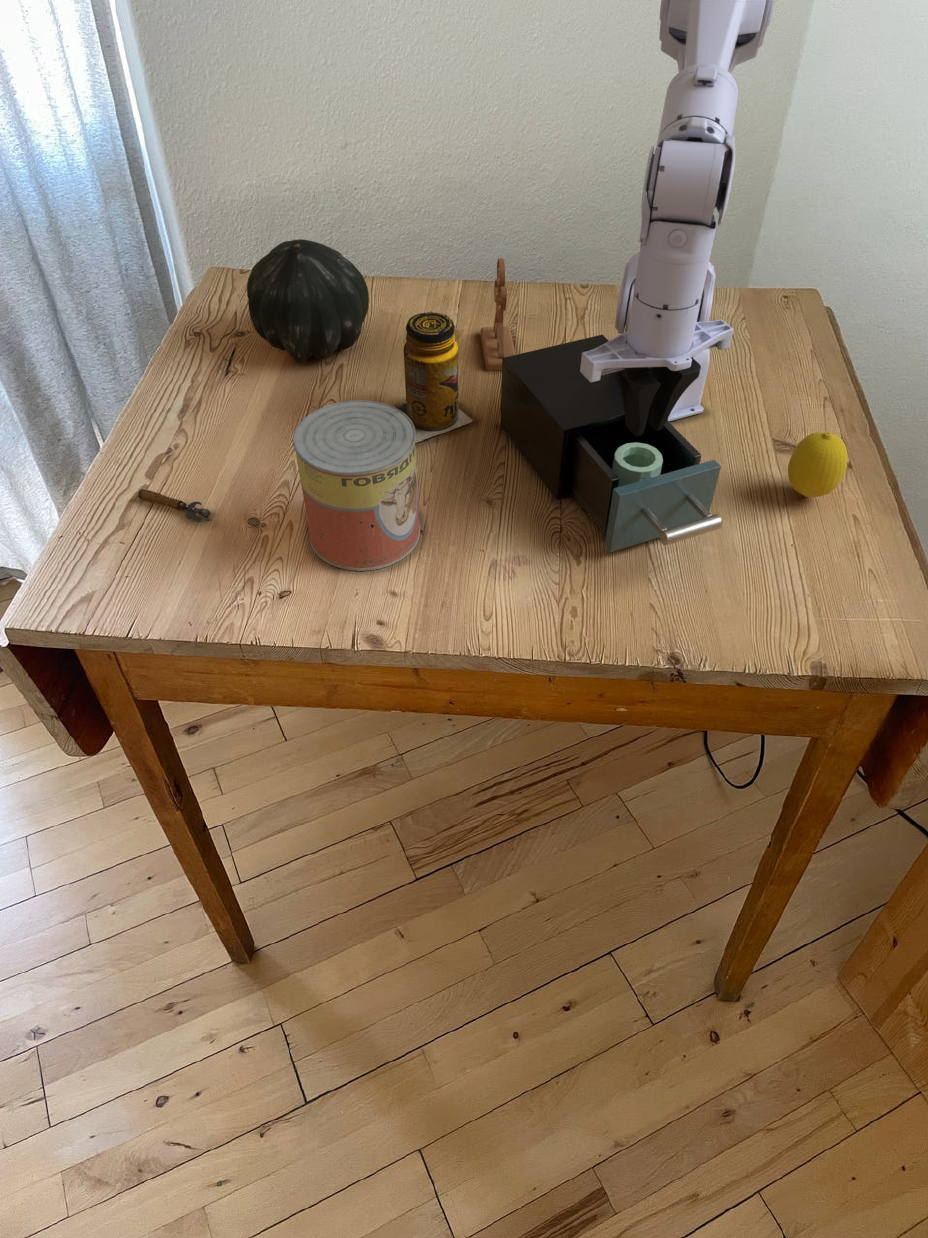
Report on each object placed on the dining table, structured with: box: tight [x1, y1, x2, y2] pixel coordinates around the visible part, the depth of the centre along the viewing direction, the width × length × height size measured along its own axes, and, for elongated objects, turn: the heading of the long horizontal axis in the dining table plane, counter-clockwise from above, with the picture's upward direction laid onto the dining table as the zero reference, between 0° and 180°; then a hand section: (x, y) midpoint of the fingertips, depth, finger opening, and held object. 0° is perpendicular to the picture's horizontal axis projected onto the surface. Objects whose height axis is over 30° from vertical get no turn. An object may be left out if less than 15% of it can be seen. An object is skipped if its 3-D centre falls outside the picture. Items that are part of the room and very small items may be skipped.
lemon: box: [787, 431, 849, 498], centre depth 93 cm, size 6×6×8 cm
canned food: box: [292, 399, 421, 572], centre depth 88 cm, size 11×11×12 cm
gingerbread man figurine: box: [480, 257, 517, 372], centre depth 111 cm, size 9×4×12 cm, turn 4°
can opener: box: [137, 488, 211, 523], centre depth 94 cm, size 9×2×1 cm, turn 62°
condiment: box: [394, 311, 474, 444], centre depth 101 cm, size 7×8×12 cm
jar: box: [612, 442, 663, 487], centre depth 91 cm, size 5×5×5 cm
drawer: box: [564, 420, 723, 553], centre depth 90 cm, size 18×11×7 cm, turn 23°
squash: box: [246, 238, 370, 362], centre depth 112 cm, size 14×15×15 cm
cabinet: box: [499, 334, 668, 501], centre depth 98 cm, size 14×12×9 cm
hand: (643, 427), depth 87 cm, fingers closed
